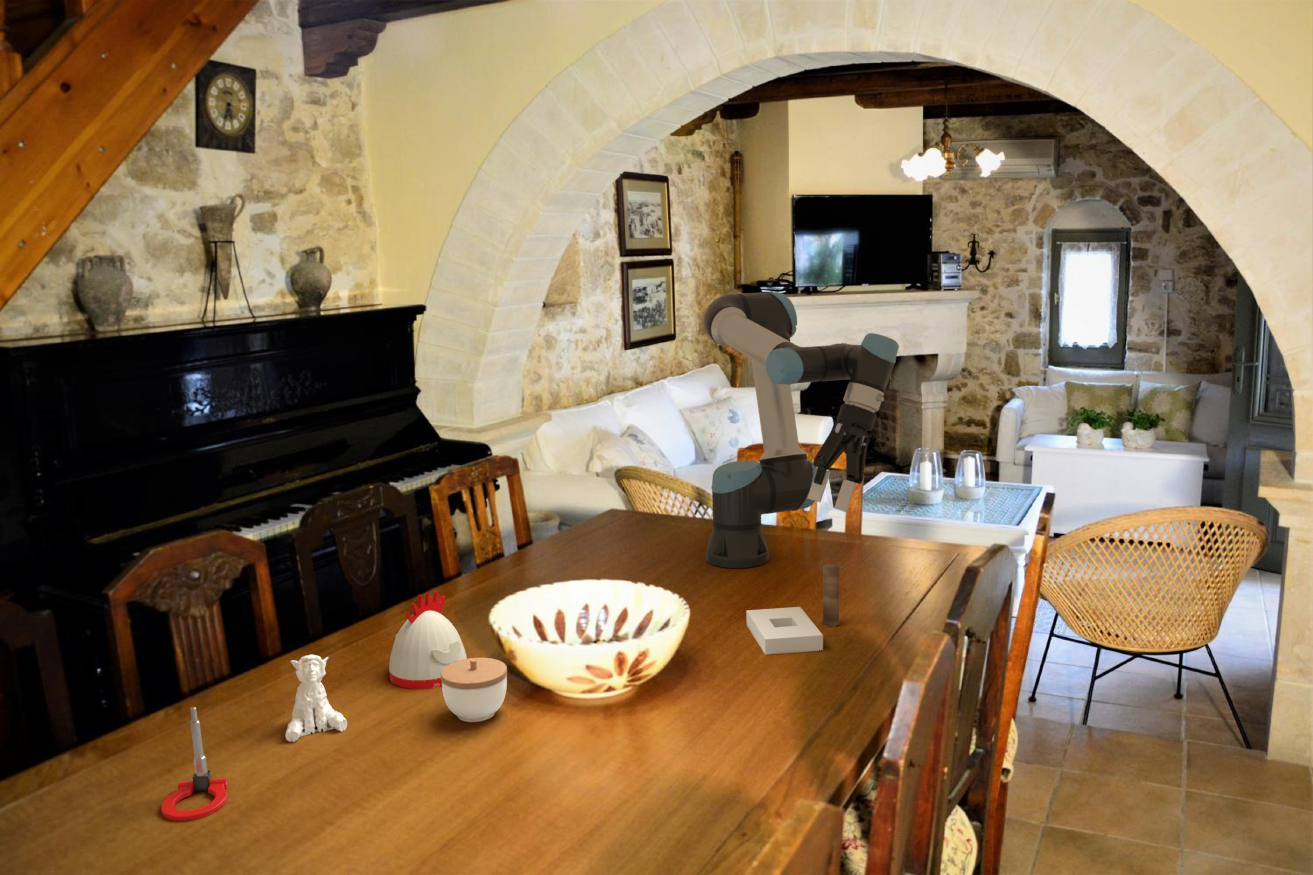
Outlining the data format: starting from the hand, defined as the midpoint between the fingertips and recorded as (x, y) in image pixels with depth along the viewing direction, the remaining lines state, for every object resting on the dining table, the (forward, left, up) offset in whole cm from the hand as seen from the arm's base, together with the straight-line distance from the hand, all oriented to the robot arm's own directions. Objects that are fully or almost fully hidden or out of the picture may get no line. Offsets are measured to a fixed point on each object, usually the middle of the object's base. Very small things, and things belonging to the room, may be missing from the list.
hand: (827, 505), depth 219 cm
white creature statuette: (+40, -97, -22) cm, 107 cm away
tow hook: (+62, -109, -22) cm, 127 cm away
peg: (+11, -2, -22) cm, 24 cm away
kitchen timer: (+21, -80, -22) cm, 86 cm away
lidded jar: (+40, -71, -22) cm, 85 cm away
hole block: (+16, -13, -22) cm, 30 cm away
